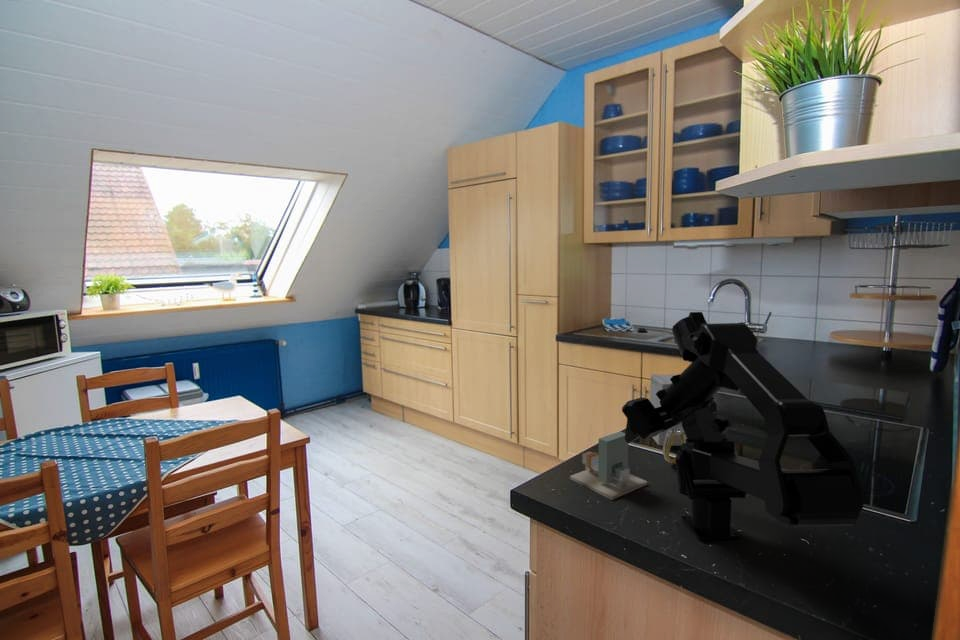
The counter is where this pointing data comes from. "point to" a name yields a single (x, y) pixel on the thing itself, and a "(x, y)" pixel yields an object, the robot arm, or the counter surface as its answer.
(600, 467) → the sleeve collar
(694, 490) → the robot arm
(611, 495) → the guide board
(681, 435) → the ring
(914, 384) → the counter surface
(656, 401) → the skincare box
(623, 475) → the grey square-edged bar
